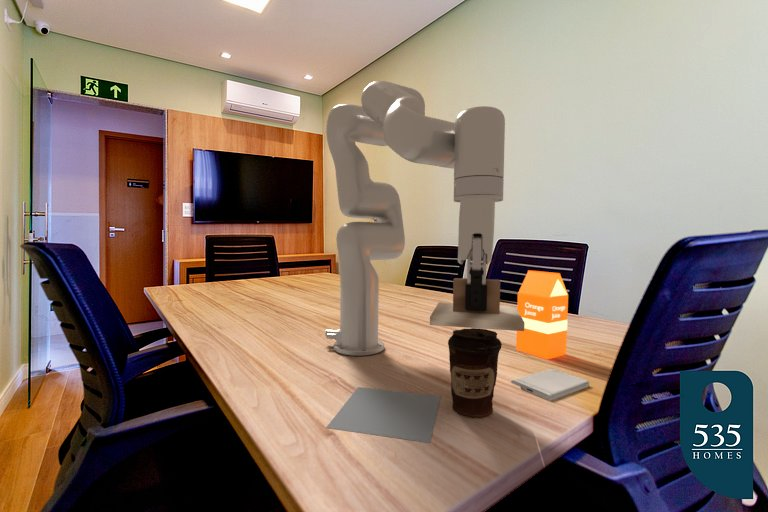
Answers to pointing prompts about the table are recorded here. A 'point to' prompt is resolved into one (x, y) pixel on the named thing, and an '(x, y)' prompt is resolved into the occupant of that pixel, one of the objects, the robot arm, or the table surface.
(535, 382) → the hard drive
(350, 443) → the table surface
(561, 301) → the orange juice
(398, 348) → the table surface
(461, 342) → the coffee cup
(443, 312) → the lid
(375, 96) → the robot arm
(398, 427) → the mat
